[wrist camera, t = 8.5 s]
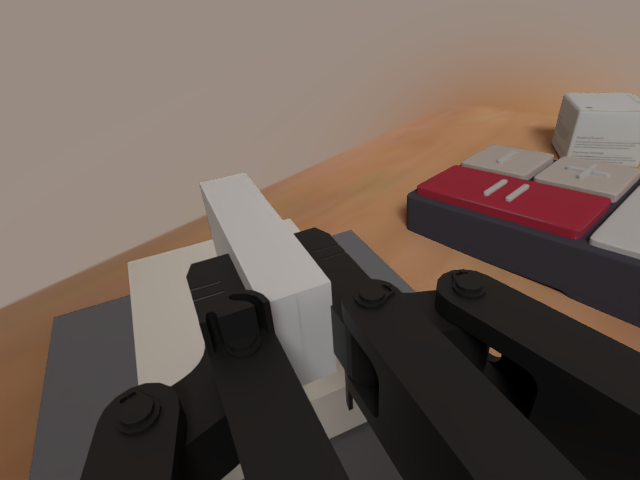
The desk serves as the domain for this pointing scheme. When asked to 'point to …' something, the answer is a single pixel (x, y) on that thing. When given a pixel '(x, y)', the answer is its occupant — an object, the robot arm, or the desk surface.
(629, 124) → the small box
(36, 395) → the desk surface
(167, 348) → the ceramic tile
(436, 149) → the desk surface
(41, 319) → the desk surface
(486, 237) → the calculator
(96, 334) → the tile mat
